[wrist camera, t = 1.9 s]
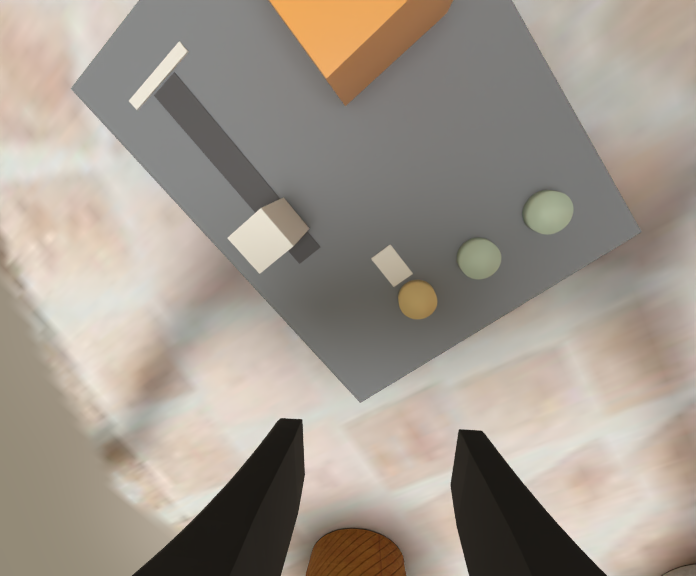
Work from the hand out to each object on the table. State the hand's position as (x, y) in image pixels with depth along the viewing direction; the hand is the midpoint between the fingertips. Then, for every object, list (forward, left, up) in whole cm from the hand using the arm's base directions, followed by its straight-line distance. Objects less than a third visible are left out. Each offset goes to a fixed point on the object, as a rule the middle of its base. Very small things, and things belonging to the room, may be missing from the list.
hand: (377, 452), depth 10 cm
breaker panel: (+7, -4, -8) cm, 11 cm away
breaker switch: (+7, 0, -7) cm, 9 cm away
